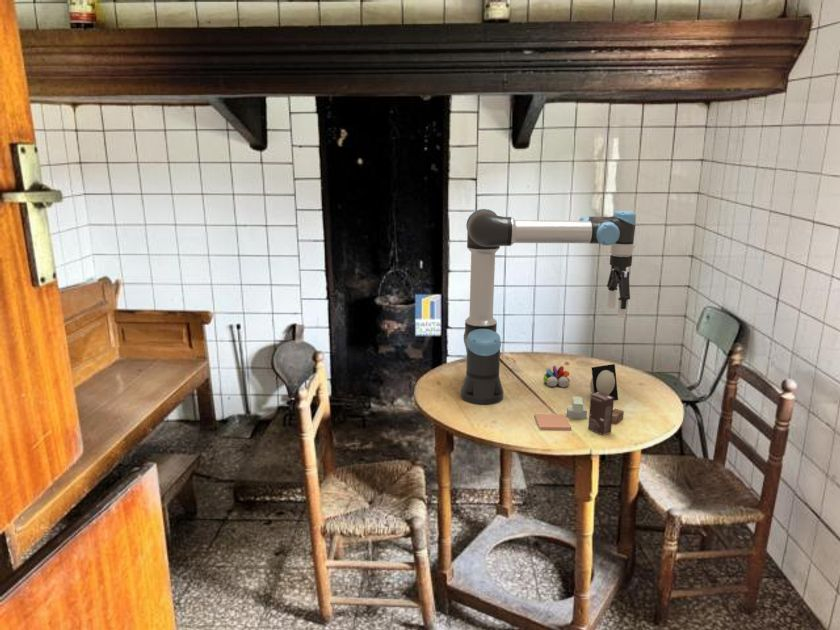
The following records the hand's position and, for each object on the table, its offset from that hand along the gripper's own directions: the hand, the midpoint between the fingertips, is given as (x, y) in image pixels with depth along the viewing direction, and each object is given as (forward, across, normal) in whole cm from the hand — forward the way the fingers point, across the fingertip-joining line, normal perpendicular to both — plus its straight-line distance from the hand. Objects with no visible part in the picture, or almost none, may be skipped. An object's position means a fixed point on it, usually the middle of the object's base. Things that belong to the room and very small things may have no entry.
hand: (616, 312), depth 233 cm
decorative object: (+28, -13, +7) cm, 32 cm away
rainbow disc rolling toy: (+28, 0, +20) cm, 35 cm away
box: (+28, -40, +14) cm, 51 cm away
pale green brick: (+25, -30, +19) cm, 43 cm away
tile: (+28, -35, +28) cm, 53 cm away
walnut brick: (+28, -32, +7) cm, 43 cm away
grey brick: (+28, -30, +19) cm, 45 cm away
